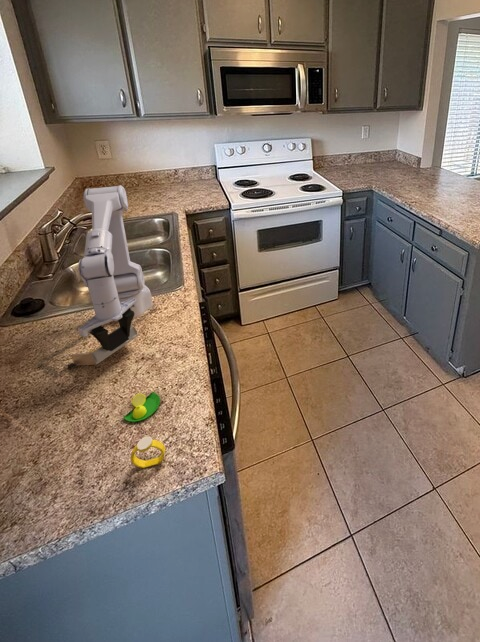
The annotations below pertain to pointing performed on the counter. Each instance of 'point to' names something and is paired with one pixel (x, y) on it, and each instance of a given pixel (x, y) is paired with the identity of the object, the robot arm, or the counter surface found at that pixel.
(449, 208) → the counter surface
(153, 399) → the green plate with lemons
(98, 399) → the counter surface
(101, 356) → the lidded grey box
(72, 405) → the counter surface
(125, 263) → the robot arm
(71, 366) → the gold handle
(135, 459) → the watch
